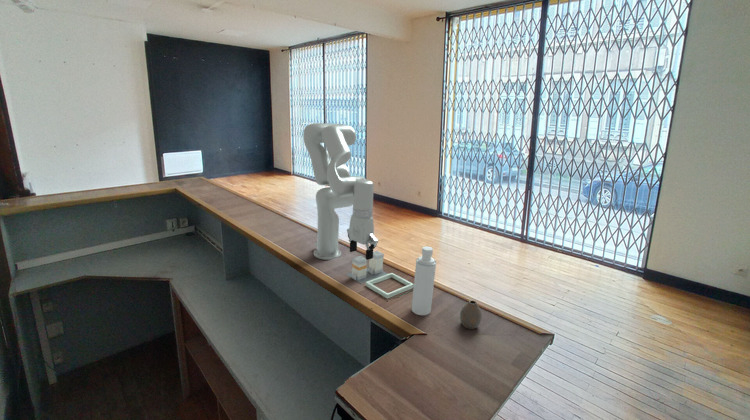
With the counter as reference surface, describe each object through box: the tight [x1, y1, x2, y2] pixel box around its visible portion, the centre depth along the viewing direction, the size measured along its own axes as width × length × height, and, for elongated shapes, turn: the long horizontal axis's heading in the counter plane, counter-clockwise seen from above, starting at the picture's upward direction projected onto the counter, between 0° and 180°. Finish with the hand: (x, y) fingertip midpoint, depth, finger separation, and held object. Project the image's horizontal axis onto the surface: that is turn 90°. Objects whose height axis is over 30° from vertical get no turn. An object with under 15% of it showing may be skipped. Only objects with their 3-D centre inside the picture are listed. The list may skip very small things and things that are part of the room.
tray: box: [365, 272, 414, 301], centre depth 143 cm, size 12×14×3 cm
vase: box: [459, 299, 483, 330], centre depth 123 cm, size 7×7×9 cm
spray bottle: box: [411, 245, 437, 316], centre depth 128 cm, size 7×7×25 cm
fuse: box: [368, 250, 385, 274], centre depth 154 cm, size 4×4×8 cm
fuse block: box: [345, 266, 389, 285], centre depth 152 cm, size 10×15×4 cm, turn 132°
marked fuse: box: [351, 255, 368, 280], centre depth 148 cm, size 4×4×8 cm
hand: (361, 254), depth 146 cm, fingers open, 9 cm apart
